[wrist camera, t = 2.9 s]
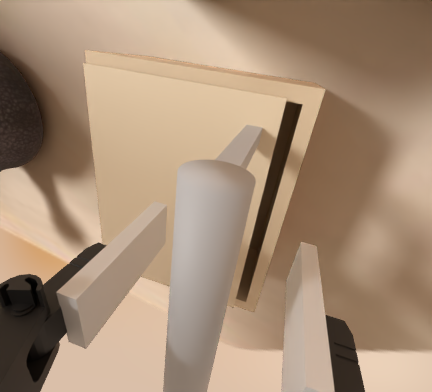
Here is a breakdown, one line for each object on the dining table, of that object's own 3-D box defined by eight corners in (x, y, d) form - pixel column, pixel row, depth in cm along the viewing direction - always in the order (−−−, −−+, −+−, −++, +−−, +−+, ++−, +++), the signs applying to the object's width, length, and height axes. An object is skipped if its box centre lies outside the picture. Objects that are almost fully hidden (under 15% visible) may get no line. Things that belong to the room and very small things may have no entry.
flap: (108, 261, 21) (8, 361, 14) (88, 63, 14) (-139, 54, 7) (234, 303, 19) (197, 447, 12) (287, 97, 12) (274, 139, 5)
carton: (147, 220, 28) (106, 262, 22) (148, 56, 20) (84, 50, 14) (264, 254, 25) (255, 312, 19) (316, 83, 18) (327, 89, 11)
